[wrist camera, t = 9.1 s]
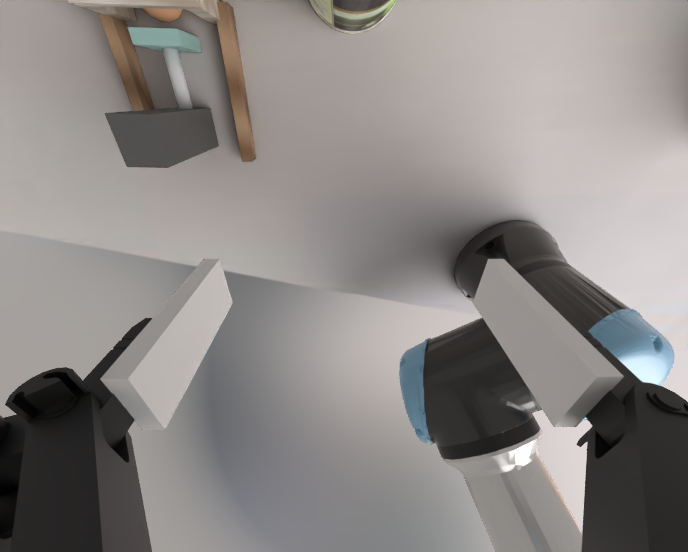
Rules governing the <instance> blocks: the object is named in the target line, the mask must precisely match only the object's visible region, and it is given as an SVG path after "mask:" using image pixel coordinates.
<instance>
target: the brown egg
mask: <svg viewBox="0 0 688 552" xmlns="http://www.w3.org/2000/svg"><path fill="white" fill-rule="evenodd" d="M143 9H144V10H145V11H146V12H147V13H148V14H149V15H150V16H152V17H153V18H155V19H157V20H159V21H162V22H172V21H175V20H176V19H178V18H179V16H180V15H181V13H182V10H180V9H152V8H143Z"/></svg>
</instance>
